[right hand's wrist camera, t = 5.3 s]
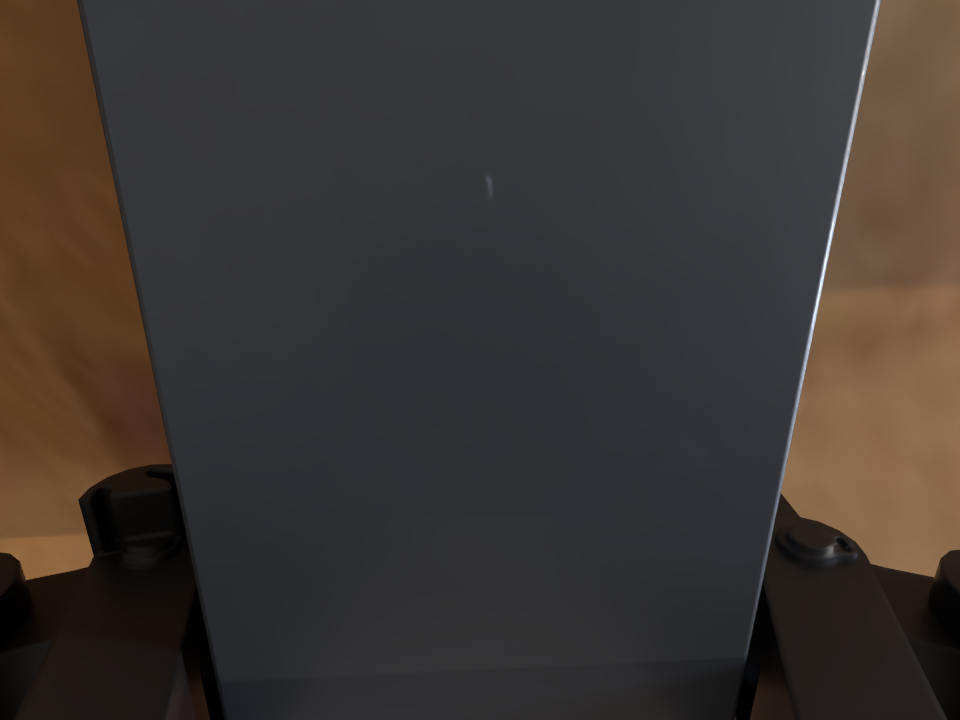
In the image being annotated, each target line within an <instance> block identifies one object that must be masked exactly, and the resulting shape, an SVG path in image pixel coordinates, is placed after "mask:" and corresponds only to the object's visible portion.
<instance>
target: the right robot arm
mask: <svg viewBox="0 0 960 720" xmlns="http://www.w3.org/2000/svg"><path fill="white" fill-rule="evenodd" d="M79 504H80V507H81V511H82V515H83V518H84V522H85V526H86V529H87V533H88V536H89V540H90V544H91V547H92V551H93V554H94V557H93V559H92V561H91V563H90V565H89V567H86V568H83V569H79V570H75V571H70V572H65V573H60V574H55V575H50V576H45V577H40V578H35V579H30V580H26V579H25V576H24V573H23V570H22V567H21V564H20V561H19V560H17V559H16V558H15V557H13V556H12V555H11V554H7V553H0V720H224V717H223V712H222V707H221V702H220V697H219V692H218V687H217V683H216V678H215V673H214V668H213V663H212V658H211V653H210V648H209V643H208V638H207V634H206V629H205V624H204V619H203V614H202V609H201V604H200V599H199V594H198V590H197V585H196V580H195V575H194V570H193V565H192V560H191V555H190V550H189V546H188V541H187V536H186V531H185V526H184V521H183V516H182V511H181V506H180V502H179V497H178V492H177V487H176V482H175V477H174V472H173V467H172V464H161V465H148V466H143V467H138V468H133V469H129V470H126V471H123V472H120V473H118V474H115V475H112V476H110V477H107V478H106V479H104V480H102V481H100V482H99V483H97V484H95V485H94V486H92V487H90V488H89V489H88V490H87V491H86V492H85V493H84V494H83V495H82V496H81V498H80V499H79ZM734 720H960V550H954V551H950V552H948V553H947V554H946V555H944V556H943V557H942V558H941V559H940V562H939V565H938V568H937V571H936V574H935V577H929V576H924V575H919V574H914V573H909V572H904V571H899V570H894V569H889V568H884V567H880V566H877V565H873V564H870V562H869V560H868V558H867V556H866V554H865V553H864V552H863V551H862V549H861V548H860V547H859V546H858V544H857V543H856V542H855V541H853V540H852V539H850V538H849V537H848V536H846V535H845V534H843V533H842V532H840V531H839V530H837V529H834V528H832V527H830V526H827V525H825V524H823V523H820V522H818V521H814V520H809V519H805V518H801V517H800V516H799V515H798V514H797V513H796V512H795V510H794V509H793V508H792V507H791V505H790V504H789V503H788V502H787V500H786V499H785V498H784V497H783V495H782V494H781V493H780V498H779V503H778V507H777V512H776V517H775V522H774V527H773V532H772V537H771V542H770V547H769V552H768V557H767V561H766V566H765V571H764V576H763V581H762V586H761V591H760V596H759V601H758V606H757V611H756V615H755V620H754V625H753V630H752V635H751V640H750V645H749V650H748V655H747V660H746V665H745V670H744V674H743V679H742V684H741V689H740V694H739V699H738V704H737V709H736V714H735V719H734Z"/></svg>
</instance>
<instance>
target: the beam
mask: <svg viewBox="0 0 960 720" xmlns="http://www.w3.org/2000/svg"><path fill="white" fill-rule="evenodd" d="M880 2H881V0H77V3H78V7H79V12H80V17H81V22H82V27H83V32H84V37H85V42H86V47H87V51H88V56H89V61H90V66H91V71H92V76H93V81H94V86H95V91H96V96H97V100H98V105H99V110H100V115H101V120H102V125H103V130H104V135H105V140H106V144H107V149H108V154H109V159H110V164H111V169H112V174H113V179H114V184H115V188H116V193H117V198H118V203H119V208H120V213H121V218H122V223H123V228H124V232H125V237H126V242H127V247H128V252H129V257H130V262H131V267H132V272H133V277H134V281H135V286H136V291H137V296H138V301H139V306H140V311H141V316H142V321H143V325H144V330H145V335H146V340H147V345H148V350H149V355H150V360H151V365H152V369H153V374H154V379H155V384H156V389H157V394H158V399H159V404H160V409H161V413H162V418H163V423H164V428H165V433H166V438H167V443H168V448H169V453H170V457H171V462H172V467H173V472H174V477H175V482H176V487H177V492H178V497H179V502H180V506H181V511H182V516H183V521H184V526H185V531H186V536H187V541H188V546H189V550H190V555H191V560H192V565H193V570H194V575H195V580H196V585H197V590H198V594H199V599H200V604H201V609H202V614H203V619H204V624H205V629H206V634H207V638H208V643H209V648H210V653H211V658H212V663H213V668H214V673H215V678H216V683H217V687H218V692H219V697H220V702H221V707H222V712H223V717H224V720H734V719H735V714H736V709H737V704H738V699H739V694H740V689H741V684H742V679H743V674H744V670H745V665H746V660H747V655H748V650H749V645H750V640H751V635H752V630H753V625H754V620H755V615H756V611H757V606H758V601H759V596H760V591H761V586H762V581H763V576H764V571H765V566H766V561H767V557H768V552H769V547H770V542H771V537H772V532H773V527H774V522H775V517H776V512H777V507H778V503H779V498H780V493H781V488H782V483H783V478H784V473H785V468H786V463H787V458H788V453H789V449H790V444H791V439H792V434H793V429H794V424H795V419H796V414H797V409H798V404H799V399H800V395H801V390H802V385H803V380H804V375H805V370H806V365H807V360H808V355H809V350H810V345H811V341H812V336H813V331H814V326H815V321H816V316H817V311H818V306H819V301H820V296H821V291H822V287H823V282H824V277H825V272H826V267H827V262H828V257H829V252H830V247H831V242H832V237H833V233H834V228H835V223H836V218H837V213H838V208H839V203H840V198H841V193H842V188H843V183H844V178H845V174H846V169H847V164H848V159H849V154H850V149H851V144H852V139H853V134H854V129H855V124H856V120H857V115H858V110H859V105H860V100H861V95H862V90H863V85H864V80H865V75H866V70H867V66H868V61H869V56H870V51H871V46H872V41H873V36H874V31H875V26H876V21H877V16H878V12H879V7H880Z"/></svg>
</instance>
